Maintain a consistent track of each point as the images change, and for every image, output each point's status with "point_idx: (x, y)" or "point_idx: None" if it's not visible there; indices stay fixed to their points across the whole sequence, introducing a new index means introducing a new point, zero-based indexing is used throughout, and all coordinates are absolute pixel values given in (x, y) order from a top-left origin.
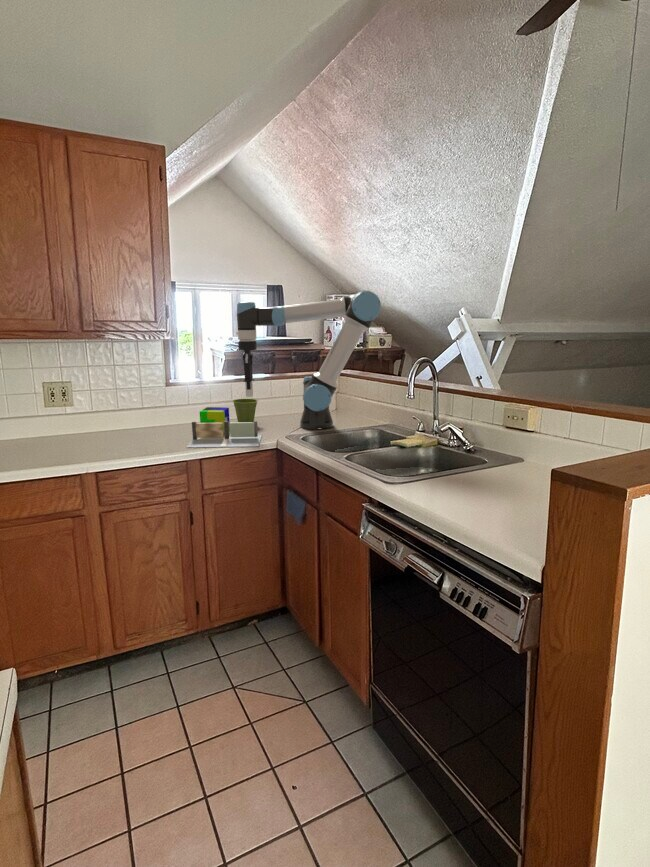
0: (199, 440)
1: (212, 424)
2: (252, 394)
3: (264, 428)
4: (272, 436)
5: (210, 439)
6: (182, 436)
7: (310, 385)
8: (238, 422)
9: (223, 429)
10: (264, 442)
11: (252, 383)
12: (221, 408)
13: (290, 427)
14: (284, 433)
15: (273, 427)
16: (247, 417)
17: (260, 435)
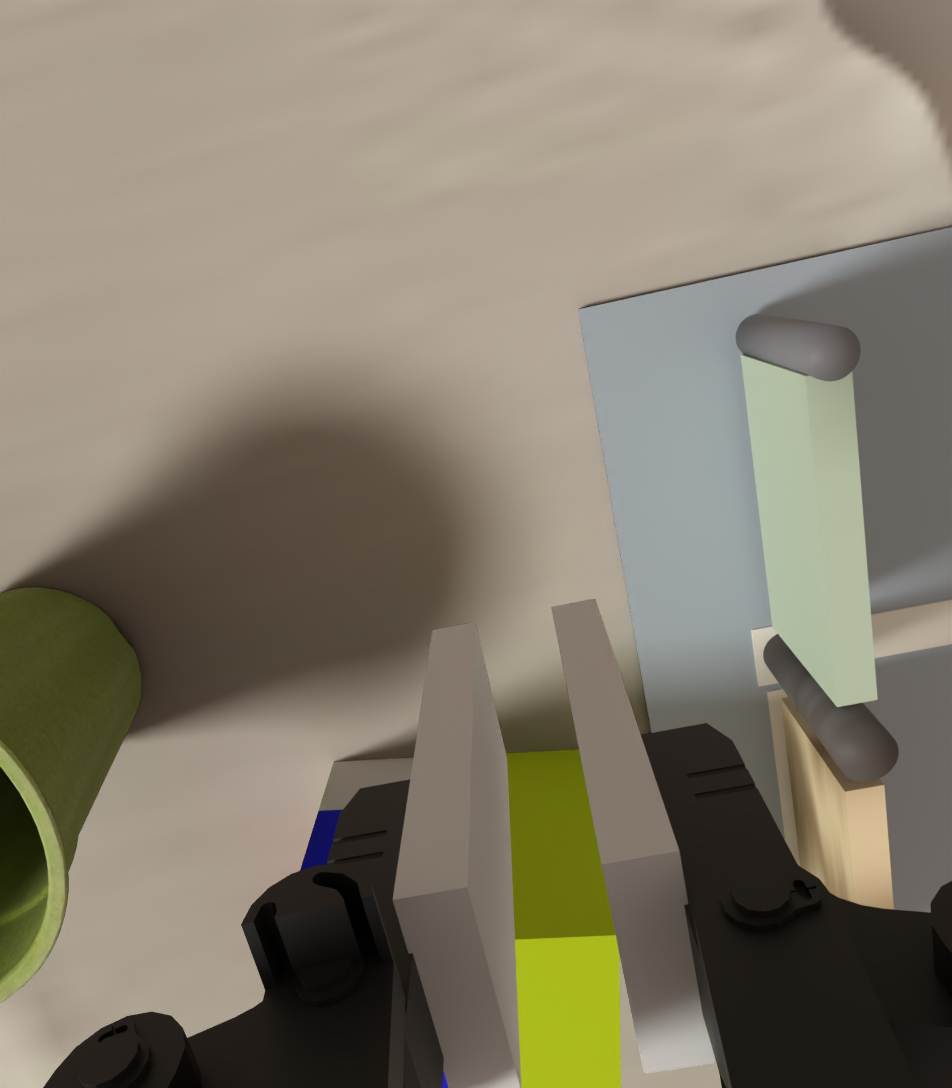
0: None
1: (885, 882)
2: (474, 645)
3: (208, 384)
4: (605, 151)
5: None
6: None
7: None
8: (831, 601)
9: (575, 780)
10: (914, 173)
11: (409, 825)
12: None
13: (51, 17)
14: (419, 16)
15: (122, 278)
16: (92, 668)
17: (612, 318)
